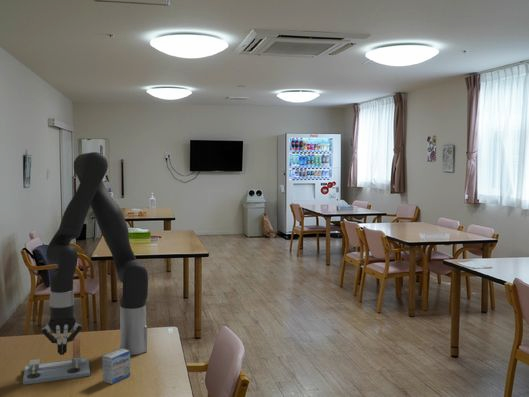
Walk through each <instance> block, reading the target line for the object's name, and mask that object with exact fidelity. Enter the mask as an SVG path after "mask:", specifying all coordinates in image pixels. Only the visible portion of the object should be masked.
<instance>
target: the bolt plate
mask: <svg viewBox="0 0 529 397" xmlns="http://www.w3.org/2000/svg"><path fill="white" fill-rule="evenodd" d="M89 361H90V360H89V358H81V363H79V364H78V369H77V370H76V369H75V366H76V364H72V359H71V360H63V361H55V362H48V363H40V367H39V370H35V375H34V376H33V375H32V371H29V365H25V366H24V372H23V376H22V377H23V378H22V386H25V385H31V384H39V383H40V384H41V383H45V382H47V383H48V382H54V381H60V380H68V379H77V378H82V377H83V378H84V377H90V376H91V371H90V370H91V369H90V362H89Z"/></svg>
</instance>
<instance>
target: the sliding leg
mask: <svg viewBox="0 0 529 397" xmlns="http://www.w3.org/2000/svg"><path fill="white" fill-rule="evenodd" d="M71 342H72V344H71V345H72V354H71V360H72V364H76V366H75V369H76V370H77V369H78V364H79V363H81V359H82V353H81V336H75V338H74V339H73V340H72V341H71Z"/></svg>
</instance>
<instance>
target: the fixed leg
mask: <svg viewBox="0 0 529 397" xmlns="http://www.w3.org/2000/svg"><path fill="white" fill-rule="evenodd" d="M40 361H41V360H40V358H38V359H37V358H36V359H29V362H28V366H29V371H32V375H33V376H34V375H35V370H39V367H40V364H41V362H40Z"/></svg>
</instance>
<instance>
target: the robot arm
mask: <svg viewBox="0 0 529 397" xmlns="http://www.w3.org/2000/svg"><path fill="white" fill-rule="evenodd" d="M108 167H109V161H108V159H107V158H106V156H105V155H104V154H103V153H100V152H95V151H94V152H92V151H91V152H86V153H81V154H79V155H78V156H76V158H75V159H74V161H73V170H74V173H75V175H76V177H77V179H78V181H79V185H78V188H77V189H76V192H75V193H74V195H73V196H72V198H71V200H70V201H69V202H68V204H67V206H66V208H65V210H64V211H63V215H62V218H61V220H60V221H61V222H60V223H59V224H60V225H59V227H58V229H57V231H56V232H55V234H54V236H53V237H52V238H51V240H50V242H49V243H48V245H47V247H46V251H45V252H46V253H45V256H46V259H47V261H48V262H49V263H50V264H52V265H57V266H58V267H57V271H56V272H53V273H52V274H51V276H50V280H49V281H50V284H49V285H50V294H49V303H48V304H49V321H48V322H47V324H46V326H43V327H42V328H41V333H42V334H43V335H44V336H45V337H46V339H48V341H50V342H51V344H56V345H57V353H58V354H59V355H60V356H63V355H64V356H65V354H66V353H67V350H68V348H67V347H68V346H67V345H68V343H71V342H72V340H73V339H74V338H75V337H77V335H78V334H79V333H80V331H82V324H80V323H77V322H76V319H75V293H74V275H75V272H76V268H77V264H78V260H79V259H78V258H79V255H78V251H77V248H76V247H74V246H73V245H71V244H70V243H71V241H72V240H74V239H78V238H79V237H80V235H81V234H82V230H83V227H84V224H85V221H86V218H87V215H88V212H89V209H90V208H91V209H92V212H93V215H94V217H95V220H96V223H97V226H98V228H99V230H100V232H101V235H102V237H103V239H104V241H105V244H106V246H107V247H108V249H109V251H110V254H111V256H112V258H113V259H112V260H113V262H114V267H115V270H116V274H117V277H118V279H119V281H120V282H121V283H122V296H121V297H120V299H119V315H120V316H119V318H120V319H119V321H120V323H119V327H120V328H119V329H120V331H119V333H120V348H119V349H121V348H122V349H126V350H129V351H130V356H134V355H135V356H136V355H140V354H143V353H147V352H148V326H147V298H148V294H149V293H148V291H149V274H148V270H147V268H146V267H145V266H144V265H143V264H142V263H140V262H139V261H138V259H137V258H136V256H135V254H134V251H133V250H132V246H131V244H130V243H131V242H130V234H129V228H128V224H127V222H126V218H125V216H124V213H123V211H122V209H121V207H120V205H119V203H117V201H116V200H115V199H114V198H113V196H112V195H111V194H110V193H109V191H108V190H107V188H106V186H105V183H104V181H103V179H104V178H105V176H106V174H107V171H108ZM72 329H73V330H72ZM71 330H72V332H71ZM51 331H52V332H53V334H56V337H55V336H54V335H53V334H52V332H51ZM70 332H71V333H70ZM69 333H70V335H69V336H68V334H69Z"/></svg>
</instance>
